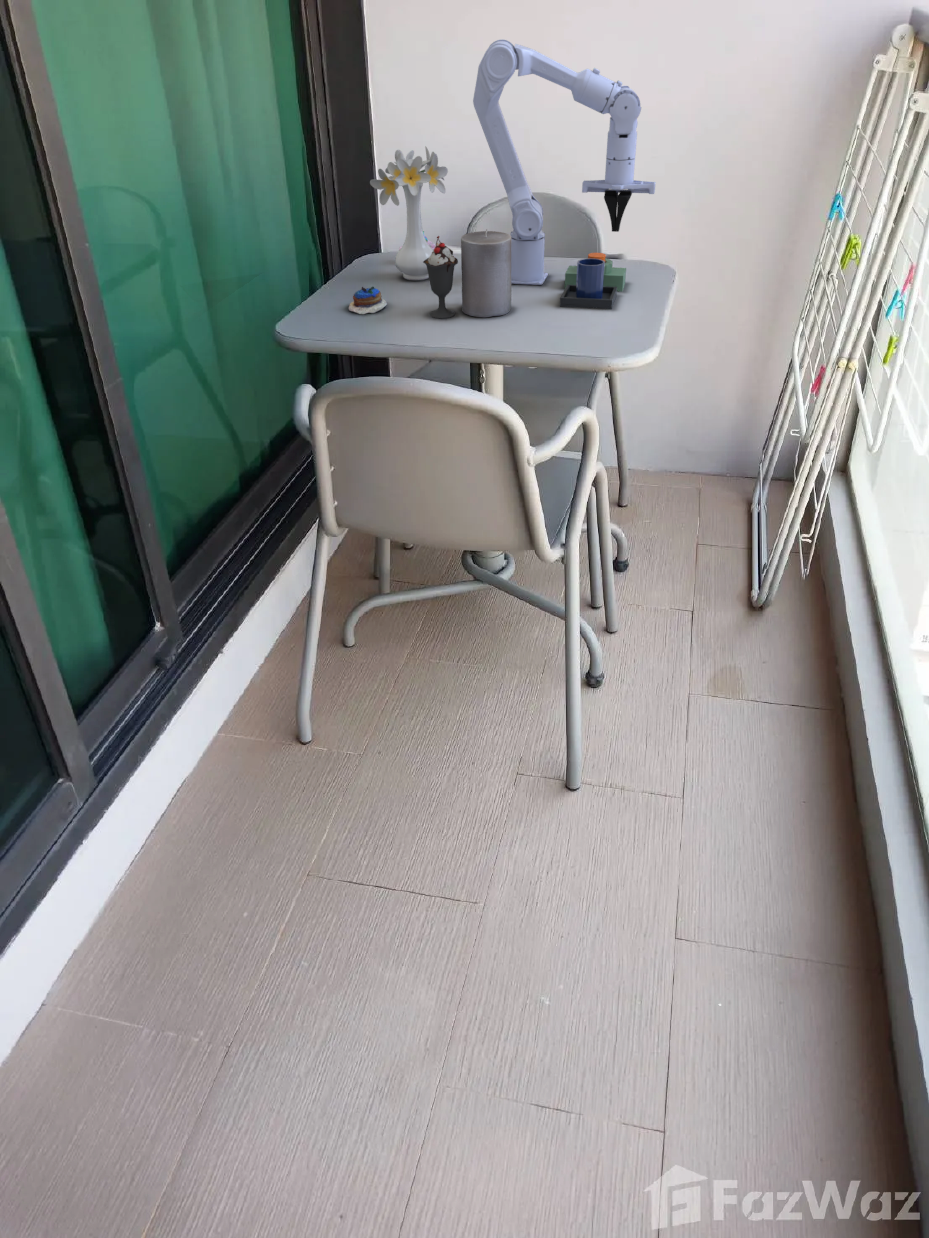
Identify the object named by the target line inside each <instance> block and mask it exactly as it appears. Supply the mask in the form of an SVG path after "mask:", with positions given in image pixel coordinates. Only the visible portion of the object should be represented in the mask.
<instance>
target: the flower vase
mask: <svg viewBox="0 0 929 1238" xmlns="http://www.w3.org/2000/svg"><path fill="white" fill-rule="evenodd" d="M424 148H425V155H426V160H423V157H422V156H421V155H417V156H415V150H410V151H409V152H408V153H407V154H406V156H404V153H403V151H402V150H400V149H396V150H395V152H394V160H395V161H393V162H392V161H390V162H388V163H387V167H386V168H385V169H384V170H385V171H384V170H383V169H382V168H378V169H377V173H378V177H379V179H375V178H374V179H370V181H369V184H370V186H371V187H372V188H373V189H375V190H378V191H379V190H380V191H381V192H380V194H379V204H380V205H381V206H385V205H387V203H388V201H389V199H390V200H391V202H392V203H393V204H394V205H395V206H397V207H398V206H400V200H399V196H398V194H397V190H398V189H399V187H402V189H403V193H404V198H405V204H406V234H405V239H404V242H403V245H401V246H402V247H401V246H400V247H401V249H400V250H399V249H398V251H397V253H396V255H395V258H394V259H395V260H394V264H395V266H396V268H397V269H398V270H399V272H400V273H402V277H403V278H404V279H405V280H408V281H424V280H427V279H428V280H429V275H428V270H427V266H426V264H425V263H423V261H425V260H426V259H427V258H429V257H430V256H431V254H432V252H433V249H432V248H431V247H430V246H429V245H428V243H427V241H426V239H425V237H424V236H425V233H424V234H423V231H424V230H423V222H422V220H423V219H422V209H421V198H422V197H421V196H422V190H423V189H422V188H423V186H424V184H426V183H427V184H428V188H429V192H430V193H434V192H435V189H436V188H437V189H438V191H439V192H440V193H442V194H445V193H446V187H445V184H444V183H443V181H445V177H446V176H447V175H448V172H449V169H448V168H447V167H446V166H439V158H438V155H437V153H435V152H434V151H431V154H430V151H429V149H428V147H427V146H426V145H425V147H424ZM414 156H415V157H414ZM423 168H424V169H423ZM421 169H422V170H421ZM388 175H390V176H388Z"/></svg>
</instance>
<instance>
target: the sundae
mask: <svg viewBox="0 0 929 1238" xmlns="http://www.w3.org/2000/svg"><path fill="white" fill-rule="evenodd" d="M437 243H438V246H437ZM435 244H436V247H435V248H434V250H433V252H432V254H431V256H430V257H429V258H427V259H426V260H425V261H423V263H425V264H426V266H427V270H428V275H429V278H428V283H429V285H430V290H431V291H432V293H433V294H435V295H436V296H437V298H438V307H437V309H436V310H433V311H431V312H430V313H429V316H430V318H431V317H432V318H435V319H449V318H452V317H454V316H455V315H456V312H455V311H453V310H451V309H447V306H446V296H448V295H449V294H450V293H451V291H452V290H453V283H454V271H455V267H456V266H457V265H458V263H459V259H458V258H456V257H455V256H454V251H453V250H452V249H451V248H449V247H448V246H447V245H446V243H445V242H441V240H440V236H439V235H438V236H437V237H436V243H435Z"/></svg>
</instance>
